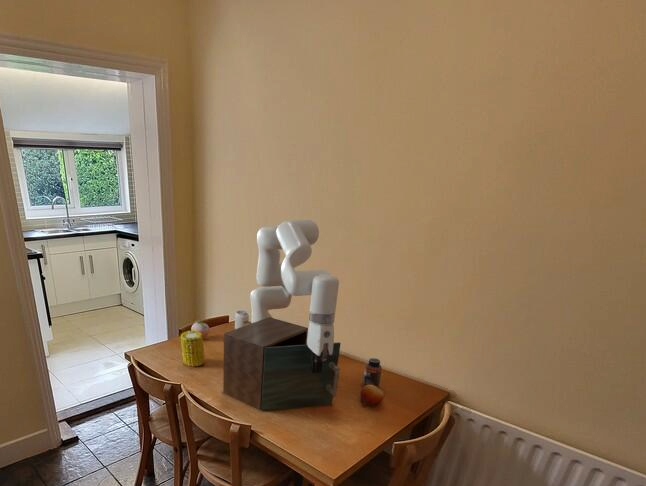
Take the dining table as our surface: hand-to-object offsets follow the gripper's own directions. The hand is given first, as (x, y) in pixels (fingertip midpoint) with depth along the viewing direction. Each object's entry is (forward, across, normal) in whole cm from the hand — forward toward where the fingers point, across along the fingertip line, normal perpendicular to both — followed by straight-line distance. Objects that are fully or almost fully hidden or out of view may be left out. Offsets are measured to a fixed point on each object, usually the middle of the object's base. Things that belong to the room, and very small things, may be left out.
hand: (315, 371), depth 132 cm
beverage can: (+16, +83, +4) cm, 84 cm away
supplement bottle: (+17, +18, -31) cm, 40 cm away
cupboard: (+17, +23, +10) cm, 30 cm away
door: (+17, +4, +2) cm, 18 cm away
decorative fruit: (+16, +80, +27) cm, 85 cm away
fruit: (+18, +6, -25) cm, 31 cm away
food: (+17, +51, +34) cm, 64 cm away
